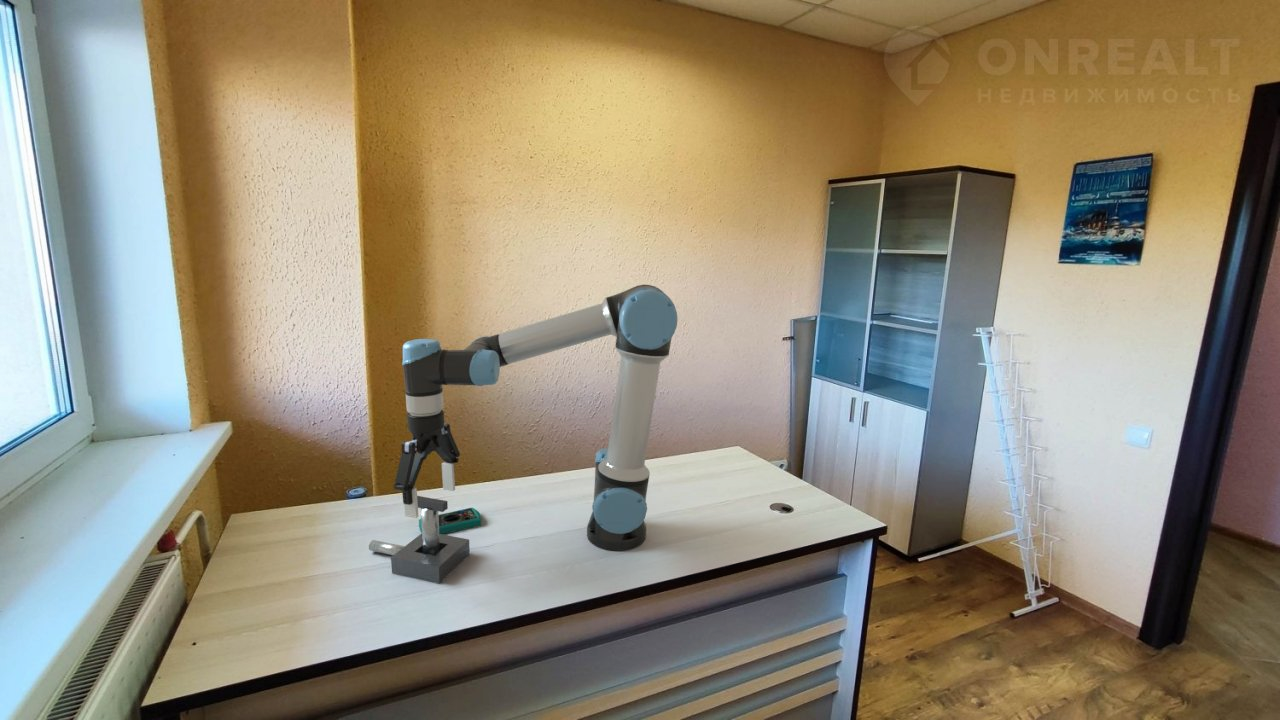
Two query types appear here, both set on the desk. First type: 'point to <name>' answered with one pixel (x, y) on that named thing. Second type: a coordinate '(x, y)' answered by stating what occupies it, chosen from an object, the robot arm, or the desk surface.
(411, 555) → the block
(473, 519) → the digital multimeter
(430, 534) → the t key
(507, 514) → the desk surface
